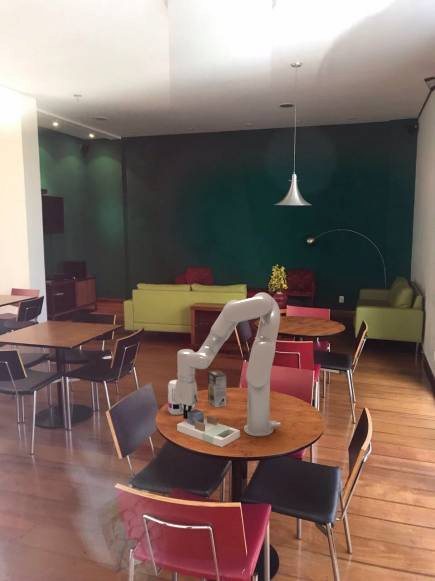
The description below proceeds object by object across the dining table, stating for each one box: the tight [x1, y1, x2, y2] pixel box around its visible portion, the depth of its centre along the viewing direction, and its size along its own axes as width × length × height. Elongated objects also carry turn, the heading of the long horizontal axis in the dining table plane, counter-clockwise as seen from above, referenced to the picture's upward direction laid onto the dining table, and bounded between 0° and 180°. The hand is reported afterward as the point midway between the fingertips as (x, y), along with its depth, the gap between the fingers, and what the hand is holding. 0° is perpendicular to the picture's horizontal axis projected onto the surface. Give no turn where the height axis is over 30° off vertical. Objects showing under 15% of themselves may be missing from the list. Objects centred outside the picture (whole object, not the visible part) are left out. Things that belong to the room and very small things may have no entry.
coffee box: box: [207, 369, 227, 408], centre depth 234 cm, size 9×6×16 cm
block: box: [187, 408, 205, 426], centre depth 204 cm, size 5×5×5 cm
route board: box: [176, 414, 241, 448], centre depth 200 cm, size 25×12×6 cm, turn 50°
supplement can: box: [167, 379, 183, 416], centre depth 224 cm, size 8×8×15 cm
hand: (187, 417), depth 207 cm, fingers closed
